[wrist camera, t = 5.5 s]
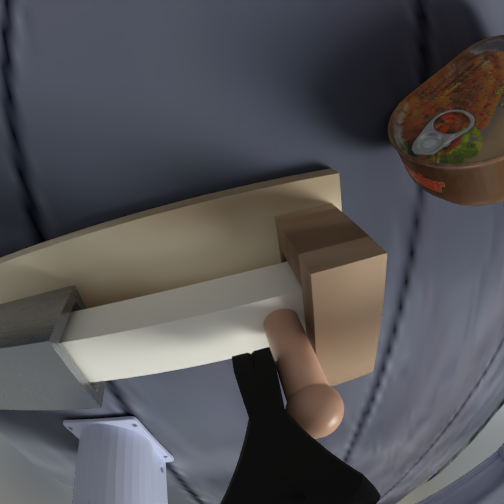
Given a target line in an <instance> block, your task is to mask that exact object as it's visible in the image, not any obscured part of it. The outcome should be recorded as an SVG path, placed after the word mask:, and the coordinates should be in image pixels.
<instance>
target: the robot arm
mask: <svg viewBox="0 0 504 504" xmlns="http://www.w3.org/2000/svg"><path fill="white" fill-rule="evenodd" d="M232 361H233V368H234V373H235V376H236V379H237V383H238V386H239V389H240V392H241V395H242V398H243V401H244V404H245V407H246V410H247V413H248V416H249V421H248V426H247V431H246V435H245V439H244V443H243V447H242V450H241V454H240V457H239V460H238V463H237V466H236V469H235V471H234V474H233V477H232V479H231V482H230V484H229V487H228V489H227V491H226V493H225V495H224V497H223V499H222V502H221V504H376V503H377V502H378V501H379V499H380V497H381V496H380V494H379V492H378V491H377V489H376V488H375V487H374V486H373V484H372V483H371V482H370V481H369V480H368V479H367V478H366V477H365V476H364V475H363V474H362V473H360V472H358V471H357V470H355V469H353V468H352V467H350V466H349V465H347V464H346V463H344V462H343V461H341V460H340V459H339V458H337V457H336V456H335V455H333V454H332V453H331V452H329V451H328V450H327V449H326V448H324V447H323V446H322V445H321V444H320V443H318V442H317V441H316V440H315V439H314V438H312V437H311V436H310V435H309V434H308V433H307V432H306V431H305V430H304V429H303V428H302V427H301V426H300V425H299V424H298V423H297V422H296V421H295V420H294V419H293V418H292V417H291V416H290V414H289V413H288V412H287V411H286V410H285V409H284V404H283V399H282V394H281V389H280V384H279V379H278V375H277V370H276V365H275V361H274V358H273V355H272V353H271V350H270V347H267V348H263V349H259V350H256V351H253V352H252V356H251V354H250V353H244V354H240V355H236V356H232ZM63 425H64V426H65V427H66V428H67V429H68V430H69V431H70V432H71V433H73V434H74V435H75V436H76V437H77V438H78V439H79V446H78V453H77V461H76V469H75V478H74V488H73V500H72V504H168V500H167V484H166V462H172V461H174V458H173V456H172V455H171V454H170V453H169V452H168V451H167V450H166V449H165V448H164V447H163V446H162V445H161V444H160V443H159V442H158V441H157V440H156V439H155V438H154V437H153V436H152V435H151V434H150V432H149V431H148V430H147V429H146V428H145V427H144V426H143V425H142V424H141V423H140V421H139V420H138V419H137V418H136V417H133V416H126V417H114V418H100V419H79V420H64V421H63ZM416 504H504V444H503V445H502V446H501V447H500V448H499V449H498V450H497V451H496V452H495V453H493V454H492V455H491V456H490V457H488V458H487V459H486V460H484V461H483V462H482V463H480V464H479V465H478V466H476V467H475V468H473V469H472V470H470V471H469V472H468V473H466V474H465V475H463V476H462V477H460V478H459V479H457V480H456V481H454V482H452V483H451V484H450V485H448V486H446V487H444V488H443V489H441V490H439V491H438V492H436V493H434V494H433V495H431V496H429V497H427V498H426V499H424V500H422V501H420V502H419V503H416Z"/></svg>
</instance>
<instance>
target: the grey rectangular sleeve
mask: <svg viewBox="0 0 504 504" xmlns="http://www.w3.org/2000/svg"><path fill="white" fill-rule="evenodd" d="M83 309H87V307H86V305H85V304H84V302H83V300H82V298H81V296H80V294H79V292H78V290H77V289H76V287H75V285H72V286H68V287H64V288H60V289H56V290H52V291H49V292H45V293H41V294H37V295H33V296H29V297H26V298H22V299H18V300H14V301H10V302H7V303H3V304H0V409H2V410H71V409H89V408H101V406H102V400H103V394H104V388H105V383H106V381H99V382H90V383H89V382H88V380H87V379H86V378H85V376H84V375H83V374H82V373H81V371H80V370H79V369H78V367H77V366H76V365H75V363H74V362H73V361H72V359H71V358H70V356H69V355H68V354H67V352H66V351H65V349H64V348H63V347H62V345H61V344H60V342H59V341H60V338H61V336H62V333H63V331H64V328H65V326H66V323H67V321H68V318H69V316H70V314H71V312H74V311H79V310H83Z"/></svg>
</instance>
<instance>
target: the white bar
mask: <svg viewBox="0 0 504 504" xmlns="http://www.w3.org/2000/svg"><path fill="white" fill-rule="evenodd" d="M59 342H60V344H61V345H62V347H63V348H64V349H65V351H66V352H67V354H68V355H69V356H70V358H71V359H72V361H73V362H74V363H75V365H76V366H77V367H78V369H79V370H80V371H81V373H82V374H83V375H84V376H85V378H86V379H87V380H88V382H89V383H90V382H99V381H107V380H115V379H122V378H129V377H136V376H143V375H149V374H155V373H161V372H167V371H172V370H178V369H183V368H188V367H193V366H198V365H203V364H208V363H213V362H217V361H222V360H227V359H231V358H232V356H236V355H240V354H244V353H250V354H252V352H253V351H256V350H259V349H263V348H267V347H270V350H271V353H272V355H273V358H274V361H275V365H276V369H277V372H278V375H279V378H280V381H281V385H282V388H283V391H284V394H285V397H286V400H287V404H286V411H287V412H288V413H289V414H290V416H291V417H292V418H293V419H294V420H295V421H296V422H297V423H298V424H299V425H300V426H301V427H302V428H303V429H304V430H305V431H306V432H307V433H308V434H309V435H310V436H311V437H312V438H314V439H315V438H321V437H324V436H327V435H329V434H330V433H332V432H333V431H334V430H335V429H336V428H337V427H338V426H339V424H340V423H341V421H342V418H343V415H344V404H343V401H342V398H341V396H340V395H339V393H338V392H337V391H336V390H335V389H334V388H332V387H330V386H329V383H328V381H327V379H326V377H325V374H324V372H323V370H322V368H321V366H320V363H319V361H318V359H317V357H316V354H315V352H314V350H313V348H312V346H311V343H310V341H309V339H308V337H307V335H306V324H305V313H304V303H303V292H302V287H301V285H300V284H299V282H298V280H297V278H296V276H295V274H294V272H293V271H292V269H291V267H290V265H289V263H288V261H287V262H283V263H279V264H275V265H271V266H267V267H263V268H259V269H255V270H251V271H247V272H243V273H239V274H235V275H230V276H226V277H222V278H218V279H214V280H210V281H205V282H201V283H197V284H193V285H189V286H184V287H180V288H176V289H172V290H167V291H163V292H159V293H154V294H150V295H146V296H141V297H137V298H133V299H128V300H124V301H119V302H115V303H110V304H106V305H102V306H97V307H93V308H88V309H83V310H79V311H74V312H71V314H70V316H69V318H68V321H67V323H66V326H65V328H64V331H63V333H62V336H61V338H60V341H59Z"/></svg>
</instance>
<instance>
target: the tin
mask: <svg viewBox="0 0 504 504" xmlns="http://www.w3.org/2000/svg"><path fill="white" fill-rule="evenodd" d="M388 136H389V139H390V142H391V144H392V145H393V147H394V148H395V149H396V150H397V151H398V153H399V155H400V157H401V159H402V161H403V163H404V165H405V167H406V169H407V171H408V173H409V175H410V176H411V178H412V179H413V180H414V181H415V182H416V183H417V184H418V185H419V186H420V187H421V188H422V189H424V190H425V191H427V192H428V193H430V194H432V195H434V196H436V197H439V198H441V199H444V200H446V201H449V202H452V203H455V204H459V205H469V206H479V205H488V204H494V203H498V202H502V201H504V35H499V36H493V37H489V38H486V39H483V40H481V41H478V42H476V43H475V44H473V45H471V46H470V47H468V48H467V49H465V50H464V51H463V52H462V53H460V54H459V55H458V56H456V57H455V58H454V59H453V60H451V61H450V62H449V63H448V64H446V65H445V66H444V67H443V68H441V69H440V70H439V71H438V72H436V73H435V74H434V75H433V76H431V77H430V78H429V79H427V80H426V81H425V82H424V83H422V84H421V85H420V86H419V87H417V88H416V89H415V90H414V91H412V92H411V93H410V94H409V95H408V96H406V97H405V98H404V99H403V100H402V101H401V102H400V103H399V104H398V106H397V107H396V108H395V110H394V111H393V113H392V115H391V117H390V120H389V123H388Z"/></svg>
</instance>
